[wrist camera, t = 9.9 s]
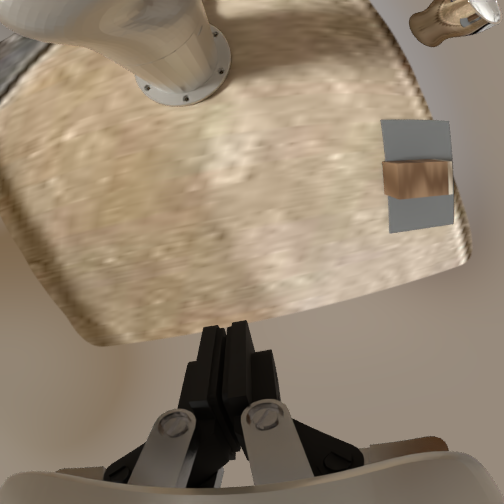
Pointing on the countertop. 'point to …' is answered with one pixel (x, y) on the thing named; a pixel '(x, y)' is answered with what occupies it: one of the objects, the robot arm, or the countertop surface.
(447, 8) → the beer glass
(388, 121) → the grey mat
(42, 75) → the countertop surface
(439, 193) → the walnut block
